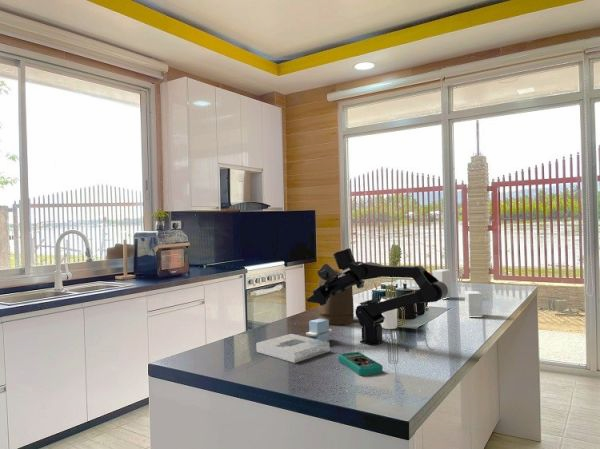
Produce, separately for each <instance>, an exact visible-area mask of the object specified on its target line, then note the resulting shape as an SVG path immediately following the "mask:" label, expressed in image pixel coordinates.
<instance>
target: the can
mask: <svg viewBox="0 0 600 449" xmlns="http://www.w3.org/2000/svg"><path fill="white" fill-rule="evenodd" d="M392 298H396V296H391V295H390V296H388V295H387V296H381V297H380V301H386V300H389V299H392ZM382 315H383V316H384V317H385V319H384V322H383V323H381V324H380V325H382V330H383V329H384V330H396V329H397V328H398V308H397V309H394V310H390V311H387V312H384V313H382Z"/></svg>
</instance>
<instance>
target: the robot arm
mask: <svg viewBox="0 0 600 449" xmlns="http://www.w3.org/2000/svg"><path fill="white" fill-rule="evenodd" d="M332 255H333V258H334V261H335V263H336V266H337V267H338V268H337V269H338V270H341V271H343V272H339V273H338V272H335V271H334V270H335V269H334V268H332V266H330V265H329V264H328V263H325V264H323V265H321V267H320V268H319V269H318V270H317V275H318V277H319V279H320V278H321V279H323V280H326V281H325V282H324V283H325V284H324V285H322V286H319V285H318V286H317V287H315V288H314V289H313V290H312V293H313V294H311V295H310V296H309V297H308V298H307V299H306V302H308V303H311V304H313V303H314V304H318V305H319V304H320V305H321V306H323V305H325V304H326V303H327V302H328V301H329V300H330V296H329V295H330V294H331V293H332V295H333V296H334V295H336V294H337V293H338V292H341V291H342V292H343V291H345V290H346V289H347V288H349V287H352V288H353V287H354V286H356V288H357V289H358V290H359V289H362V288H364V285H365V280H372V279H376V278H403V279H412V280H414V282H415V283H416V284H417V286H418V290H416V291H412V292H410V293H409V292H408V293H407V294H403V295H399V296H395V298H392V299H389V300H386V301H381V300H378V297H375V298H372V299H368V300H365V301H362V302H359V305H357V306H356V309H355V316H356V318H357V320H358V322H359V325H360V327H361V340H359V343H361V344H362V343H363V344H366V345H372V346H377V345H379V344H383V343H385V342H386V340H385V339H383V328H382V325H381V323H383V322H384V319H385V317H384V316H383V315H382V313H384V312H387V311H390V310H394V309H397V310H398V309H401V308H404V307H407V306H410V305H415V304H420V303H421V304H422V303H423V304H424V303H436V302H439V301H442V300H441V299H443V298H445V297H446V296H447V294H448V288H447V286H446V285H445V284H444V283H443V282H441V281H439V280H438V279H437V278H435V277H434V276H433V274H432V273H431V272H428V270H426V269H425V268H424V266H422V265H415V266H414V265H384V264H380V263H377V262H372V261H367V262H362V261H356V260H355V257H354V255H353V252H352V249H351V248H349V247H347V248H346V249H343V250H340V251H337V252H335V253H333V254H332Z"/></svg>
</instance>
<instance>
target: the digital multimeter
mask: <svg viewBox="0 0 600 449" xmlns="http://www.w3.org/2000/svg"><path fill="white" fill-rule="evenodd" d="M338 362H339V363H340V364H342V365H344V366H345V367H347V368H349V369H350V370H352V372H354V373H355V374H357V375H358V376H360V377H361V376H363V377H364V376H372V375H374V376H375V375H378V374H381V373H383V372H384V371H383V367H384V365H382V363H379V362H377V361H376V360H374V359H372V358H370V357H369V356H367V355H365V353H364V354H363V353H362V352H360V351H352V352H351V351H350V352H344V353H341V354H339V355H338Z"/></svg>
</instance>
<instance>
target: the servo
mask: <svg viewBox="0 0 600 449" xmlns="http://www.w3.org/2000/svg"><path fill="white" fill-rule="evenodd" d="M331 332H333V329H332V328H330V325H329V320H327V319H322V318H320V319H319V318H316V319H312V320H309V321H308V331H307V332H305V335H306V336H307V337H308V338H313V339H317V340H322V341H326V342H330V333H331Z"/></svg>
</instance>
